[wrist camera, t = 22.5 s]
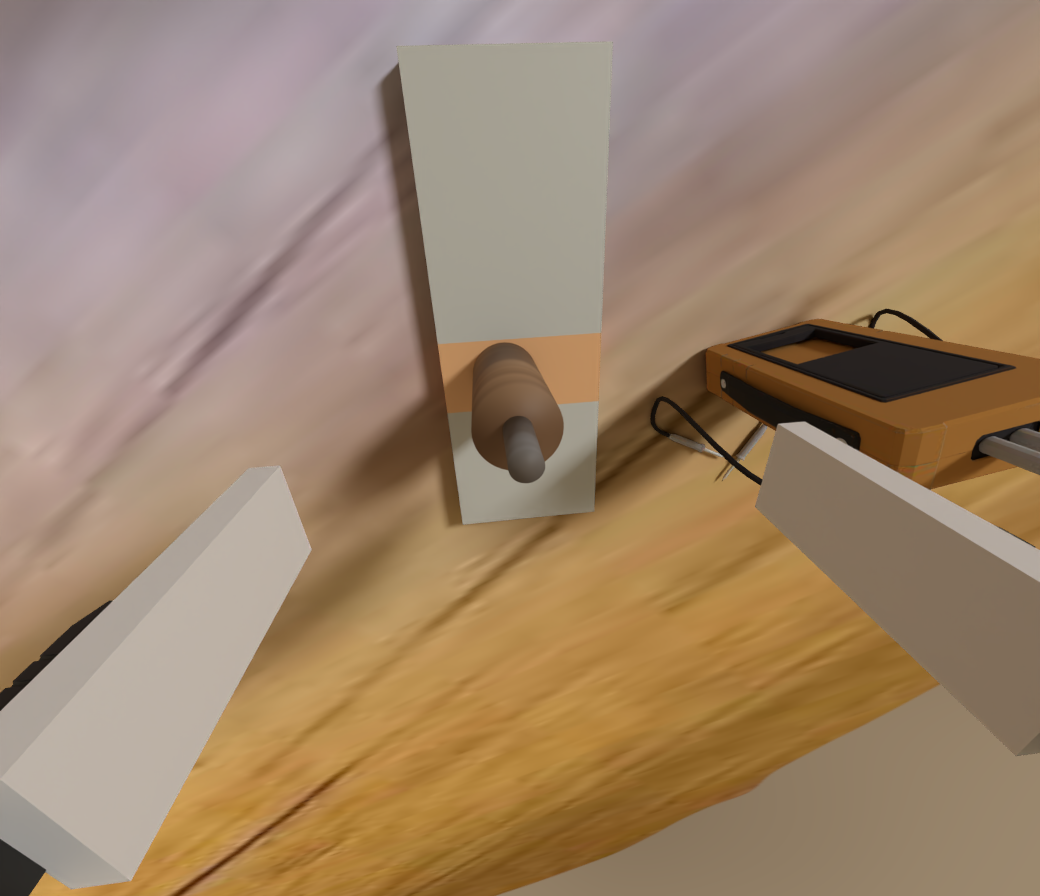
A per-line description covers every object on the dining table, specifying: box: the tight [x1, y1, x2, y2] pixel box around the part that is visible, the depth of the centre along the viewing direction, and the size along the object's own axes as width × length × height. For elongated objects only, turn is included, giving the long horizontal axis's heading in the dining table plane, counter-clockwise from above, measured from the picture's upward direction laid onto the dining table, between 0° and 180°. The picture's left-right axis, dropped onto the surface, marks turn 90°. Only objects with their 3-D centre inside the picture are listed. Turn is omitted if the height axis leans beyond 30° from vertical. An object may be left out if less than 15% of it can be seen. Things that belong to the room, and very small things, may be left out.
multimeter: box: [651, 309, 1040, 490], centre depth 18 cm, size 15×10×20 cm
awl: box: [471, 342, 564, 483], centre depth 18 cm, size 4×4×11 cm
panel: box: [396, 42, 613, 525], centre depth 22 cm, size 24×9×1 cm, turn 3°
